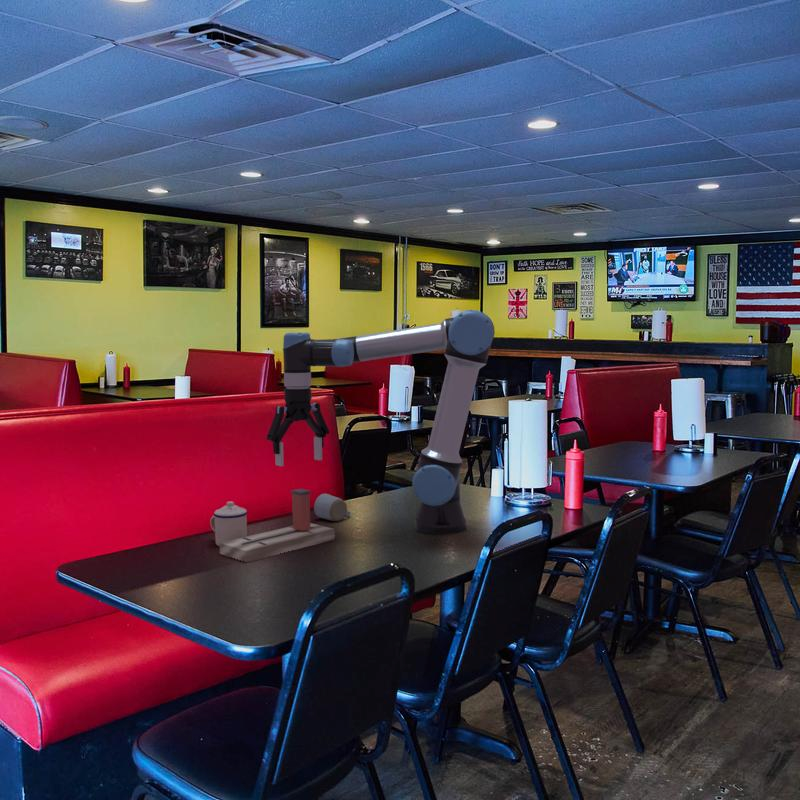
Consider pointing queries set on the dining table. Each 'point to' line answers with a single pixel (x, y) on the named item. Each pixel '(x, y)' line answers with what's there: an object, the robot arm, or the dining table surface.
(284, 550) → the panel
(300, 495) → the fader tab
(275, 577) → the dining table surface
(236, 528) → the teacup with lid
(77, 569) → the dining table surface
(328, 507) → the ceramic mug
